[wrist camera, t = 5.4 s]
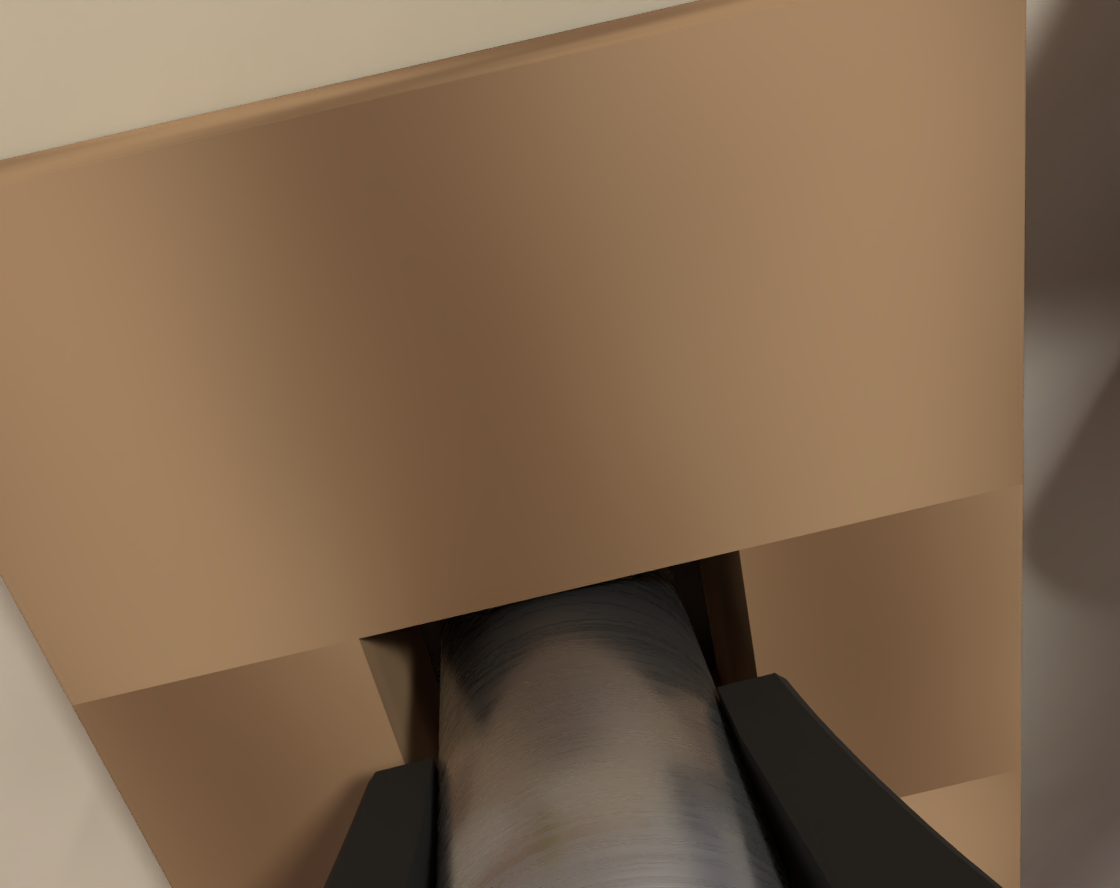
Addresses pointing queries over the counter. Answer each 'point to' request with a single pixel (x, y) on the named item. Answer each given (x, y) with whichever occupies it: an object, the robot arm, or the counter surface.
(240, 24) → the counter surface
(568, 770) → the pin tall
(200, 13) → the counter surface
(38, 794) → the counter surface
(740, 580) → the hole block
